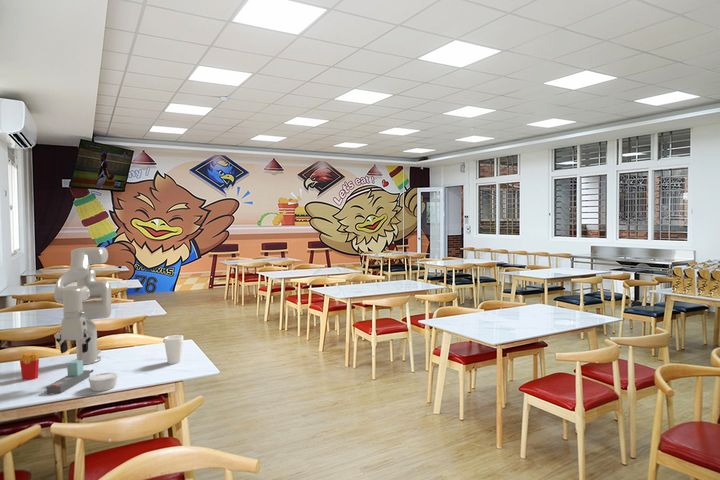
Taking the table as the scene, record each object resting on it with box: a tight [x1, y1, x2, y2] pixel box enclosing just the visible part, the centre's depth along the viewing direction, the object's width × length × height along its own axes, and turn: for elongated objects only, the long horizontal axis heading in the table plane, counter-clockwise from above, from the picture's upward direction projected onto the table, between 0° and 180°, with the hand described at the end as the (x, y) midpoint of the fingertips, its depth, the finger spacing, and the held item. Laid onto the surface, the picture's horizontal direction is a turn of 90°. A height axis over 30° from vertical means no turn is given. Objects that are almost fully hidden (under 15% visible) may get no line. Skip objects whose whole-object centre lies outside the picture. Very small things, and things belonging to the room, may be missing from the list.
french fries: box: [19, 351, 40, 381], centre depth 222 cm, size 8×4×12 cm, turn 86°
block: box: [66, 359, 84, 376], centre depth 218 cm, size 4×4×8 cm
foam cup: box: [163, 334, 184, 365], centre depth 245 cm, size 10×9×13 cm
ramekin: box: [88, 372, 118, 392], centre depth 208 cm, size 11×11×5 cm
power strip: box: [45, 369, 95, 395], centre depth 217 cm, size 30×6×4 cm, turn 1°
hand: (74, 352), depth 217 cm, fingers open, 9 cm apart
